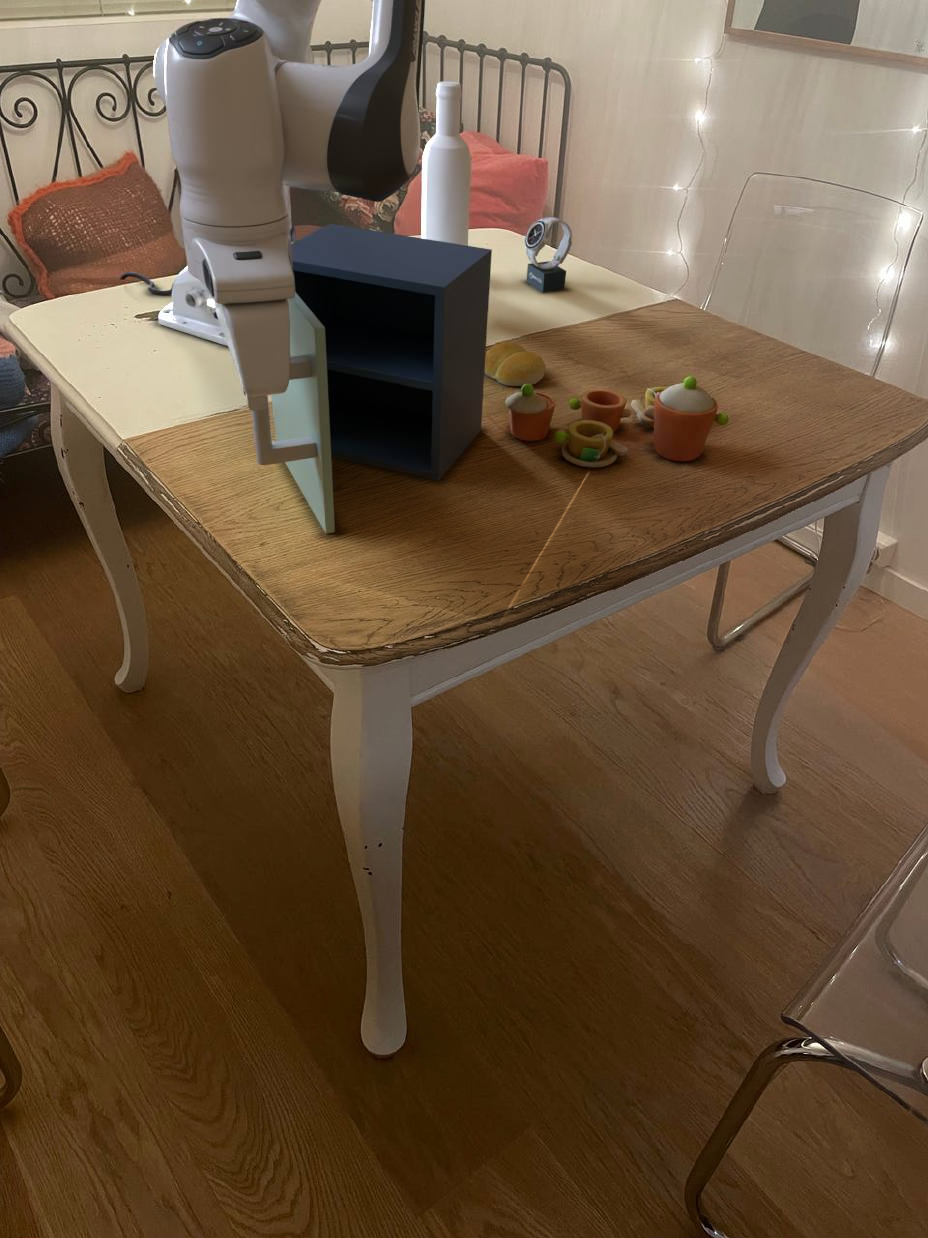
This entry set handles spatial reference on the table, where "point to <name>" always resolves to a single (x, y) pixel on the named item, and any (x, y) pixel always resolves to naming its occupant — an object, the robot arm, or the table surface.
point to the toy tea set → (669, 410)
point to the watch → (549, 272)
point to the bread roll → (513, 365)
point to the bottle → (446, 173)
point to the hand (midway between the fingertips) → (255, 400)
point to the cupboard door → (302, 416)
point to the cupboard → (398, 343)
